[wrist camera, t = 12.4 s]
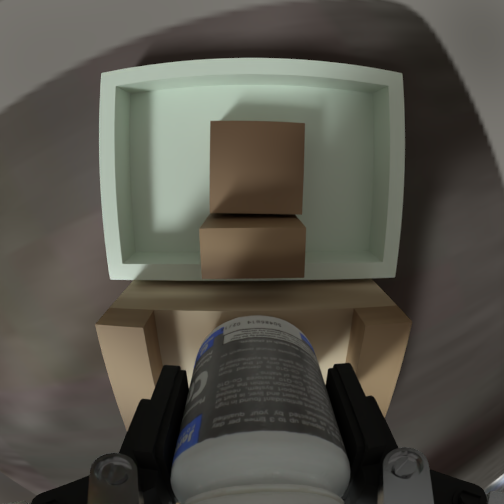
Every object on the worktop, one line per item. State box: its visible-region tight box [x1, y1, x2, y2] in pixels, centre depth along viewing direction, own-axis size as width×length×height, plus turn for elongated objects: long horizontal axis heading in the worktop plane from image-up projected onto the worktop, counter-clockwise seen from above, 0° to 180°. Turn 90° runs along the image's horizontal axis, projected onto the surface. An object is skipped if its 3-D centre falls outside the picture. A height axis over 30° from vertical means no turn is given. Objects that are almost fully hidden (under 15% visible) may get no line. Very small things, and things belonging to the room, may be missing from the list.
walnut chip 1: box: [210, 121, 305, 215], centre depth 14 cm, size 4×4×2 cm
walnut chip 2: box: [199, 213, 306, 279], centre depth 14 cm, size 4×4×2 cm
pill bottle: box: [170, 315, 350, 504], centre depth 8 cm, size 5×5×8 cm
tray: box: [99, 58, 405, 281], centre depth 14 cm, size 10×14×2 cm
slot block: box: [95, 278, 412, 504], centre depth 16 cm, size 14×12×6 cm
